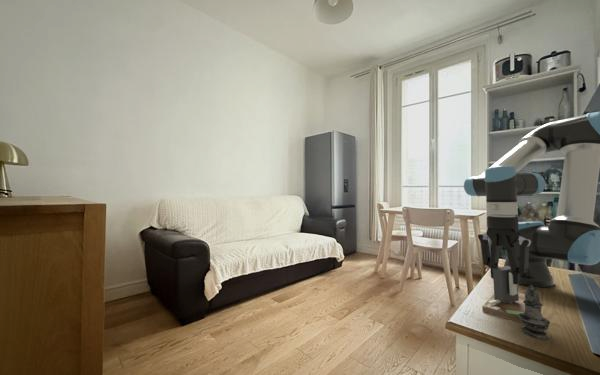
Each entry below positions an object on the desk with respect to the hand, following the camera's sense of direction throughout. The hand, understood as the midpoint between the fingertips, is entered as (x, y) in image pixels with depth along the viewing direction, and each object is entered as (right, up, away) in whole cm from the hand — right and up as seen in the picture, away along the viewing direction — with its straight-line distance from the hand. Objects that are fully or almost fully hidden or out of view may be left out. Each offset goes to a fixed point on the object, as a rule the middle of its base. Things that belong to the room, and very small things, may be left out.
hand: (505, 291), depth 76 cm
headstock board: (+2, -5, +1) cm, 5 cm away
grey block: (-2, -3, -1) cm, 3 cm away
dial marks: (-4, -3, -5) cm, 7 cm away
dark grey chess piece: (-4, -5, -14) cm, 15 cm away
